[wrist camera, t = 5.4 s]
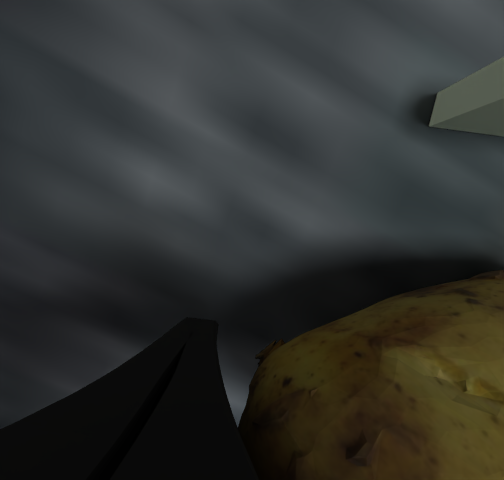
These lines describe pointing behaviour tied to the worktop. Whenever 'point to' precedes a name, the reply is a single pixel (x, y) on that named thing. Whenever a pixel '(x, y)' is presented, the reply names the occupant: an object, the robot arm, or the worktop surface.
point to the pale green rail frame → (473, 103)
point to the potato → (387, 391)
